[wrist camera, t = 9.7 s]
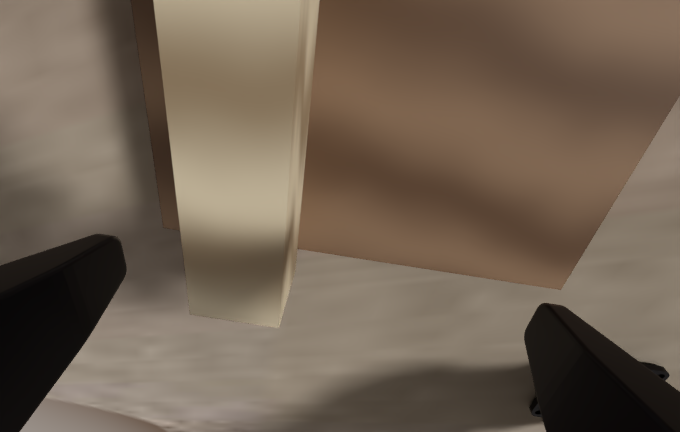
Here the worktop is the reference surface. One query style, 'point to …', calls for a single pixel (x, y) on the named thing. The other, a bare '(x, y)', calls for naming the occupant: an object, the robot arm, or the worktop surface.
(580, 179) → the mounting board
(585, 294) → the worktop surface
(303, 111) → the rail
